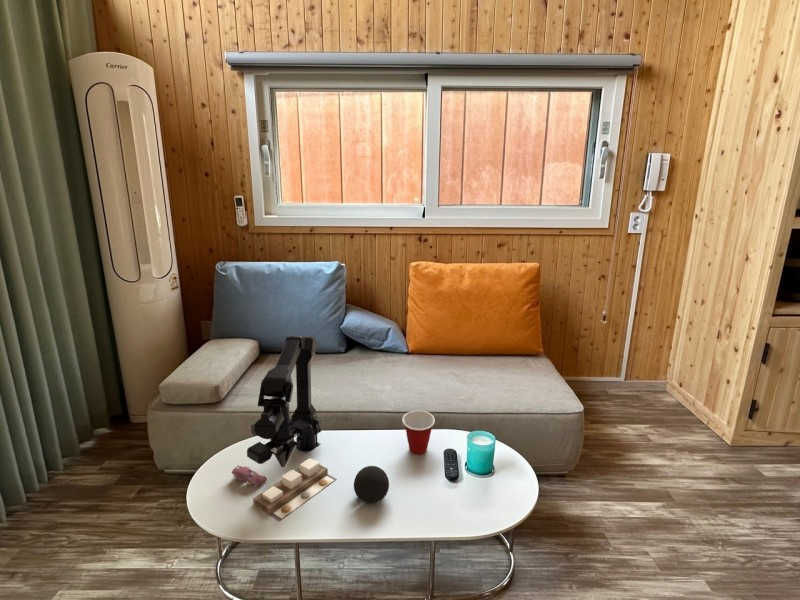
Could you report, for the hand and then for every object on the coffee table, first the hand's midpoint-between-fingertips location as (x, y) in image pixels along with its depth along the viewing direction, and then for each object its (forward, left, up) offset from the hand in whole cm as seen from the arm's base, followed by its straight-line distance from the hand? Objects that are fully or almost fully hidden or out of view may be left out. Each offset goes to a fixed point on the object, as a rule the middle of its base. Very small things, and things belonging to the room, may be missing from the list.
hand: (283, 466), depth 132 cm
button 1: (+4, 0, -9) cm, 10 cm away
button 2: (-10, 0, -7) cm, 12 cm away
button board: (-3, +2, -10) cm, 10 cm away
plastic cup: (-42, +18, -10) cm, 46 cm away
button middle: (-3, 0, -7) cm, 8 cm away
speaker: (-14, +21, -10) cm, 27 cm away
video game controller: (+3, -13, -10) cm, 16 cm away
